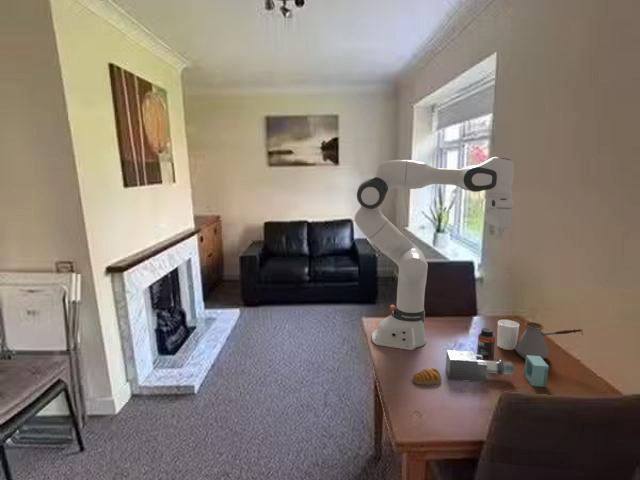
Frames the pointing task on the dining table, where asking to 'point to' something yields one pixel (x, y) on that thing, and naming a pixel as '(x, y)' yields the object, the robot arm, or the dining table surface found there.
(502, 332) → the white cup
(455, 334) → the dining table surface
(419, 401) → the dining table surface
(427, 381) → the pastry
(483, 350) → the supplement bottle
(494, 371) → the tube
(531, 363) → the socket
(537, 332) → the coffee pot
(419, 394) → the dining table surface
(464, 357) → the sleeve
